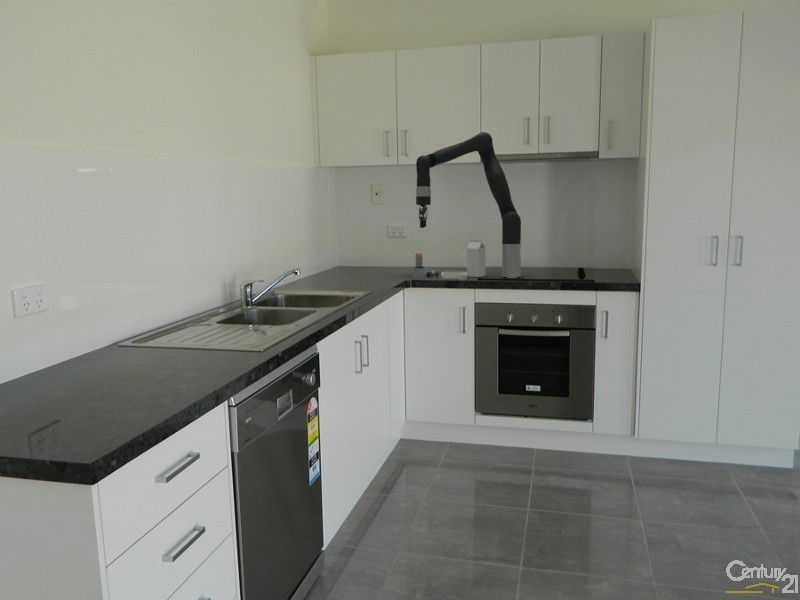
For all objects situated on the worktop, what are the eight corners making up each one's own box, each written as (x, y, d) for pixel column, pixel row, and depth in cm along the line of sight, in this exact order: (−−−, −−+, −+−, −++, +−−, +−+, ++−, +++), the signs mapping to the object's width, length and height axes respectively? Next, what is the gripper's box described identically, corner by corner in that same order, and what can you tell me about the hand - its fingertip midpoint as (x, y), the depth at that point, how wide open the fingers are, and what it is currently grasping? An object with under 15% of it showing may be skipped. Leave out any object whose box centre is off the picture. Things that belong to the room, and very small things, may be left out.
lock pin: (423, 276, 348) (422, 253, 346) (422, 277, 344) (421, 253, 342) (416, 276, 348) (415, 253, 346) (415, 277, 345) (415, 253, 343)
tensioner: (440, 277, 350) (440, 266, 349) (439, 280, 340) (438, 268, 339) (413, 277, 352) (413, 266, 351) (411, 280, 342) (411, 268, 341)
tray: (467, 277, 348) (467, 271, 348) (466, 280, 336) (466, 274, 336) (442, 277, 350) (442, 271, 349) (440, 280, 338) (440, 274, 338)
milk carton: (478, 277, 346) (478, 240, 343) (466, 276, 351) (466, 240, 348) (485, 275, 352) (485, 239, 349) (473, 275, 356) (473, 239, 353)
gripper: (429, 195, 335) (428, 228, 338) (432, 195, 349) (431, 226, 352) (414, 195, 336) (414, 228, 339) (417, 195, 350) (417, 226, 353)
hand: (423, 227), depth 345 cm, fingers open, 8 cm apart
